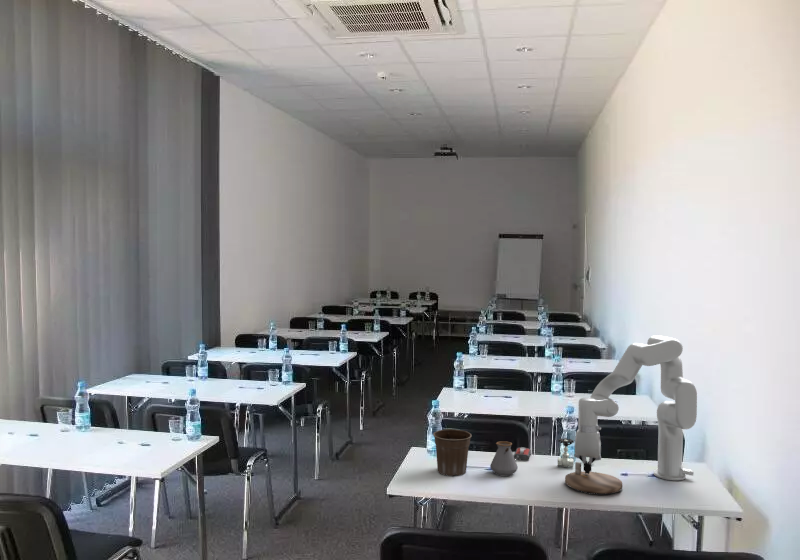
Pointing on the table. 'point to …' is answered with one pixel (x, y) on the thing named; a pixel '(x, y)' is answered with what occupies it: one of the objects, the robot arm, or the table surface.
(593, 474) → the turntable platter
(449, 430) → the plant pot
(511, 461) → the coffee pot
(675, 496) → the table surface
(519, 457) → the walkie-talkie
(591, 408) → the robot arm
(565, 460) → the valve
